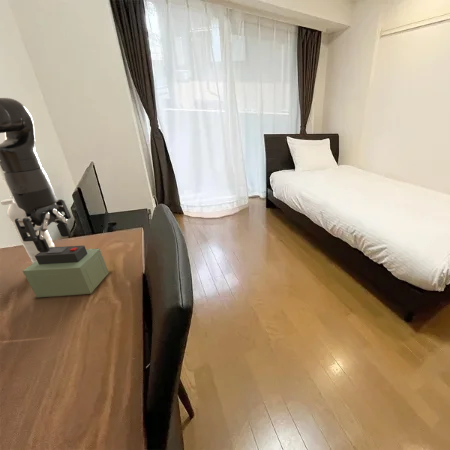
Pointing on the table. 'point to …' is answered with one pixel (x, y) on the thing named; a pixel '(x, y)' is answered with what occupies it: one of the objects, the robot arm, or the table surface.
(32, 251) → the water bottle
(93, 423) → the table surface
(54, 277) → the stand
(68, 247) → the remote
